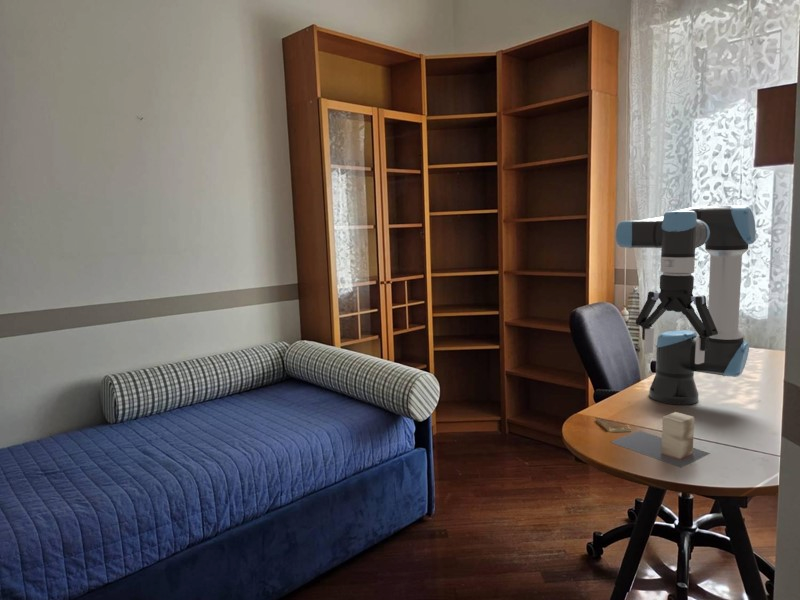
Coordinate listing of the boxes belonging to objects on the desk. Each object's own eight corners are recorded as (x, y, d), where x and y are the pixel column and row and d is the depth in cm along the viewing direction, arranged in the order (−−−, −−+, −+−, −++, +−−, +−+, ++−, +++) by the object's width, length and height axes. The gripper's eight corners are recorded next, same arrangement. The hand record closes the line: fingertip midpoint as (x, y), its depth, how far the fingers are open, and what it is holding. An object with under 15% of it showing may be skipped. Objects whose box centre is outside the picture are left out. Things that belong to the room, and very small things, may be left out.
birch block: (673, 447, 148) (675, 411, 146) (692, 453, 144) (694, 417, 142) (661, 453, 144) (662, 416, 143) (680, 459, 140) (681, 422, 139)
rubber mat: (639, 432, 160) (639, 430, 160) (710, 455, 144) (710, 453, 144) (610, 443, 153) (610, 442, 153) (681, 469, 136) (681, 467, 136)
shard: (594, 421, 171) (594, 416, 170) (619, 421, 171) (619, 415, 171) (608, 435, 160) (609, 429, 160) (634, 434, 160) (635, 428, 160)
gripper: (623, 271, 145) (620, 350, 148) (719, 278, 124) (714, 370, 127) (641, 270, 149) (638, 347, 152) (737, 276, 128) (731, 365, 131)
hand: (672, 358), depth 140 cm, fingers open, 13 cm apart
